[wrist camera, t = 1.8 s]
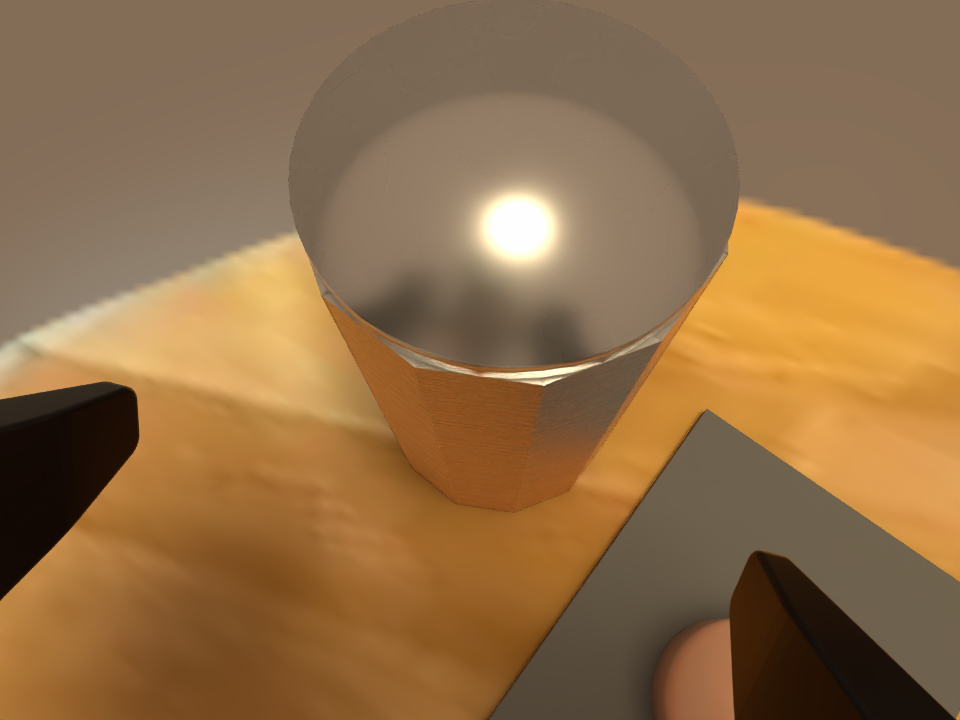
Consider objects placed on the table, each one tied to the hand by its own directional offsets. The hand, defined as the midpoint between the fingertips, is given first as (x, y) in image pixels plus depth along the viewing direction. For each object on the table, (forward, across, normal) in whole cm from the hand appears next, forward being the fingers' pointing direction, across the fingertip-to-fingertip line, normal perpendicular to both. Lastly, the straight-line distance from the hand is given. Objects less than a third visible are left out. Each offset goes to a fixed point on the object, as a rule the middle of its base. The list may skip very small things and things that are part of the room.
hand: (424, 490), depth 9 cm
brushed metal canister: (+12, 0, +5) cm, 13 cm away
